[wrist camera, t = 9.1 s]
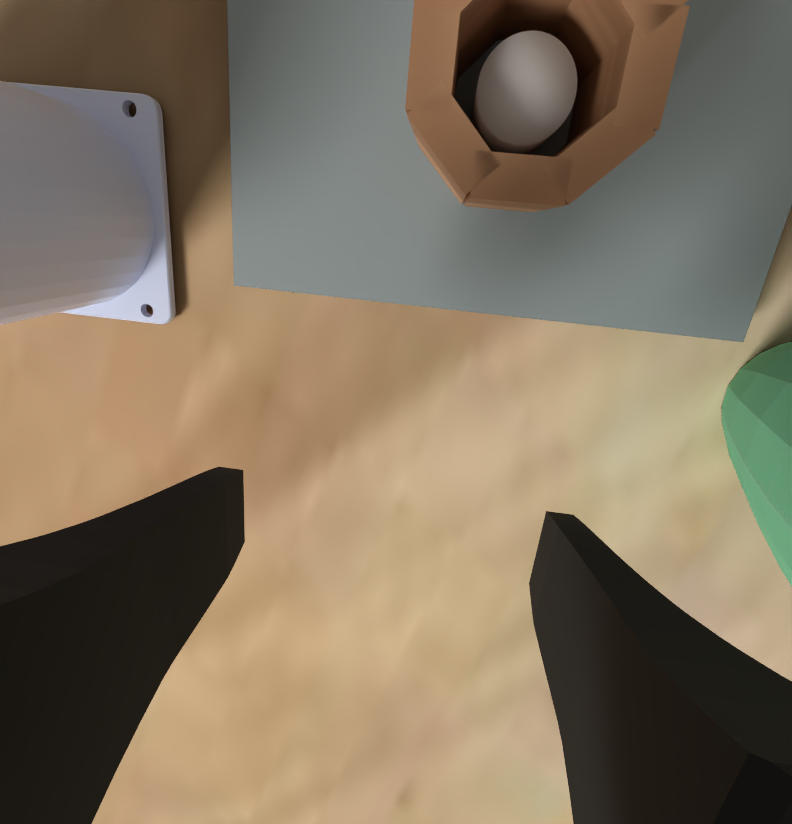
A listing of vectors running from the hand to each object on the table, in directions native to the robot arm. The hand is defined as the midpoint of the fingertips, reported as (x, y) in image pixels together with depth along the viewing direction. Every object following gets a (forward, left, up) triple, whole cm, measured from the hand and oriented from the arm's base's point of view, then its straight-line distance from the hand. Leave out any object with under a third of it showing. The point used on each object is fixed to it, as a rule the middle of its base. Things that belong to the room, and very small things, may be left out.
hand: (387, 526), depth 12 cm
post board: (+2, +10, -9) cm, 14 cm away
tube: (+2, +10, -8) cm, 13 cm away
